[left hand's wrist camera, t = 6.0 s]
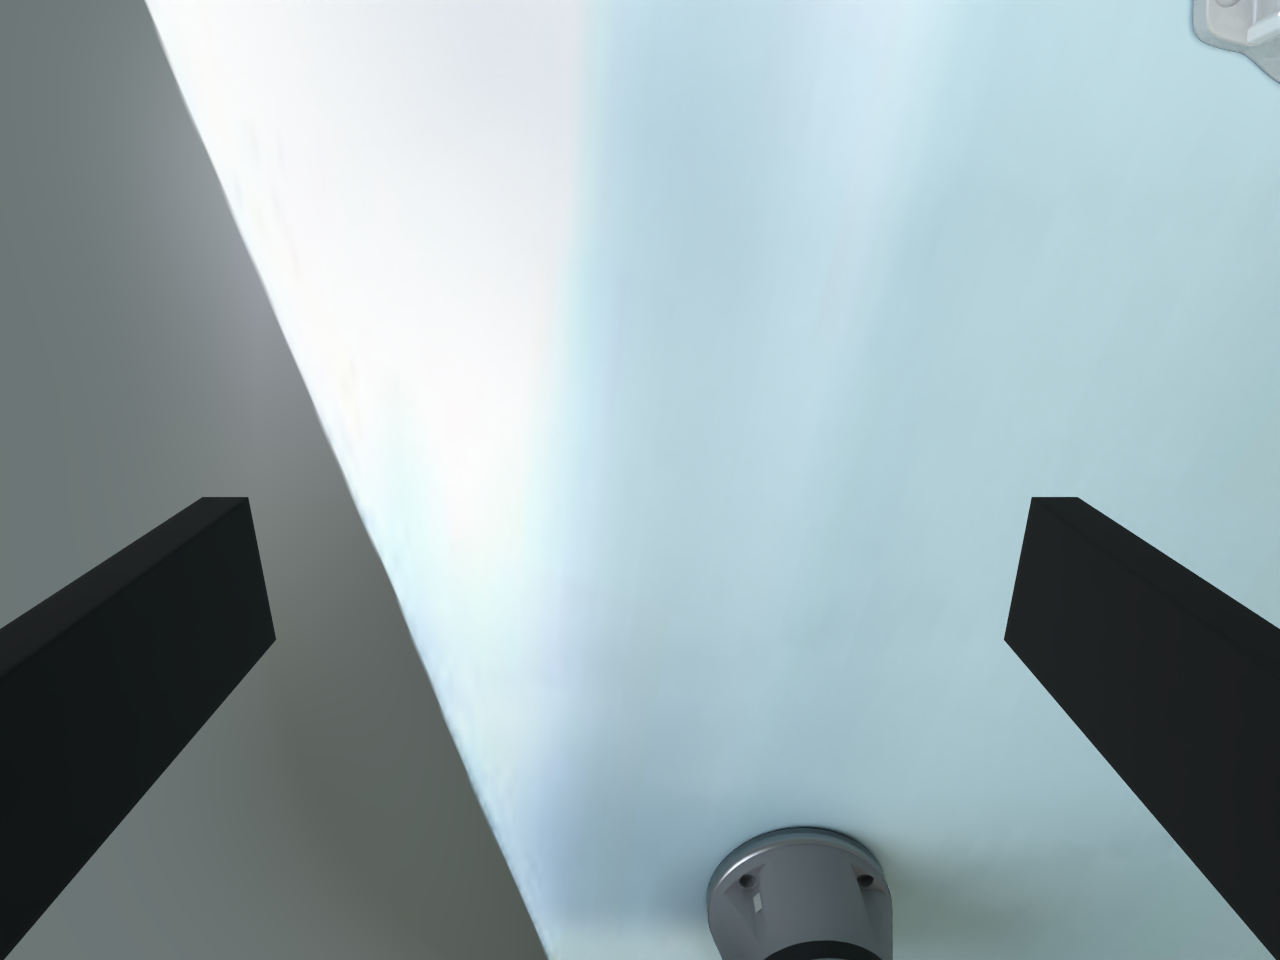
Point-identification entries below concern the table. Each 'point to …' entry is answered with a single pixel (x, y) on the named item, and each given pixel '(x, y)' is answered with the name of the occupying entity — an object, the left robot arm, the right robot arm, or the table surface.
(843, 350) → the table surface
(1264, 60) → the right robot arm
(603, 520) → the table surface
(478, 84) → the table surface
